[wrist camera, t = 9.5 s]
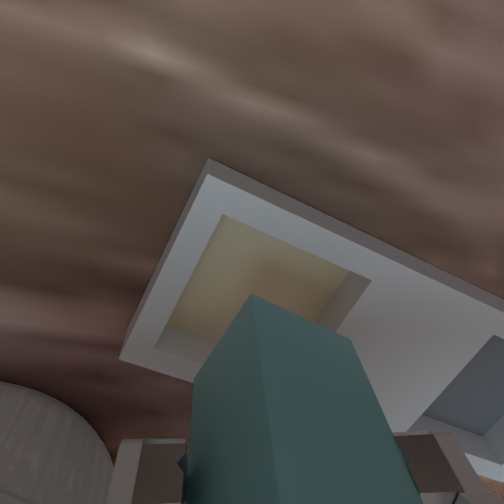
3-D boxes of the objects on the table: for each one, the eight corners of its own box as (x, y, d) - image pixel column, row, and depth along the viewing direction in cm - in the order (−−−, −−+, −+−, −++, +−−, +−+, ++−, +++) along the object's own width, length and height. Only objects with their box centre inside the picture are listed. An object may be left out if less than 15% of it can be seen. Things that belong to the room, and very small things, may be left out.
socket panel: (480, 448, 23) (502, 482, 22) (127, 327, 18) (118, 359, 16) (590, 340, 21) (626, 370, 19) (207, 157, 15) (207, 173, 13)
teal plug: (288, 415, 15) (372, 853, 7) (193, 378, 14) (162, 846, 6) (350, 339, 13) (542, 771, 5) (251, 293, 12) (313, 743, 4)
